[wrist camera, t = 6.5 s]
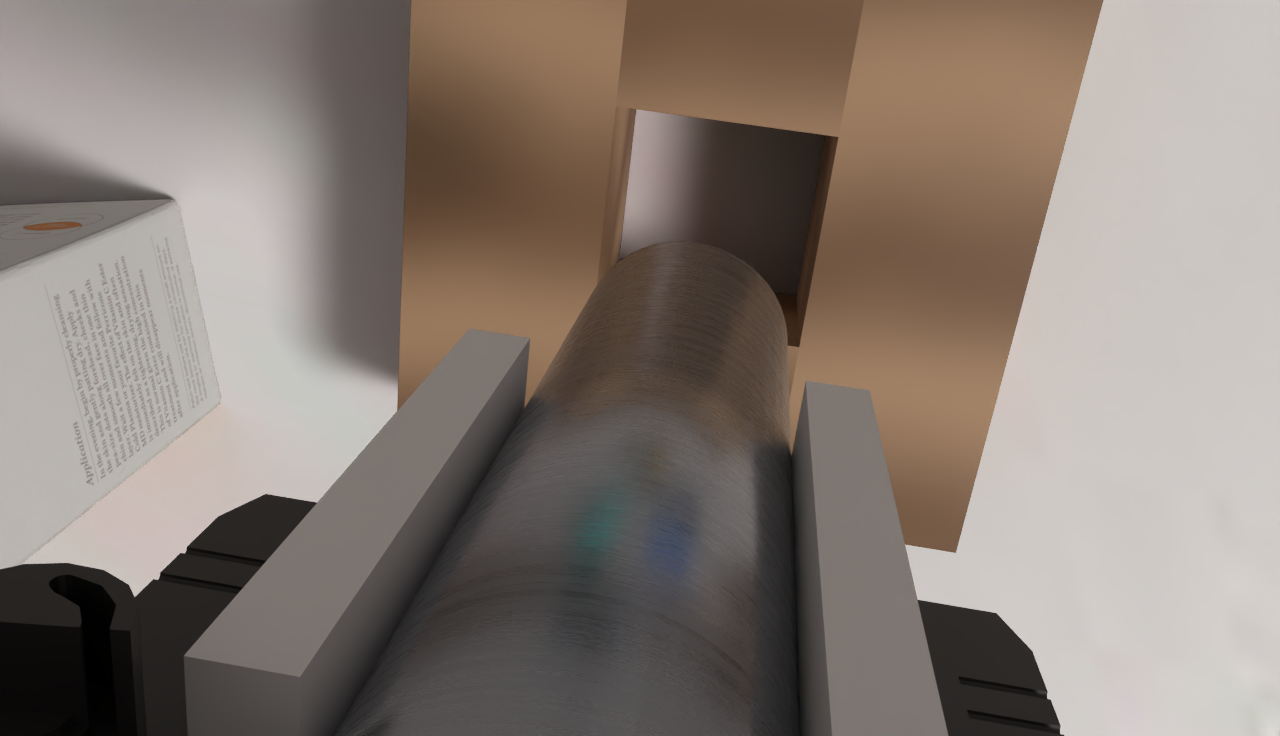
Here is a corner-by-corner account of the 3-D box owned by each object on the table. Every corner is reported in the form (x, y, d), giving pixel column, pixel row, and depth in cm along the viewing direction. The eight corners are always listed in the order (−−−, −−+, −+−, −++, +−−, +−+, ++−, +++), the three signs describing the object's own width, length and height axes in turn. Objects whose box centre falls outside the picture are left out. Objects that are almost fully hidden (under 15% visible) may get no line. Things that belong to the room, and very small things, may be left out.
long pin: (592, 226, 17) (-72, 1120, 4) (804, 258, 16) (919, 1341, 3) (571, 419, 18) (21, 1608, 5) (769, 452, 18) (751, 1793, 5)
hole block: (470, -137, 25) (416, -156, 21) (1068, -64, 24) (1121, -70, 20) (443, 399, 30) (395, 460, 26) (932, 477, 29) (955, 552, 25)
